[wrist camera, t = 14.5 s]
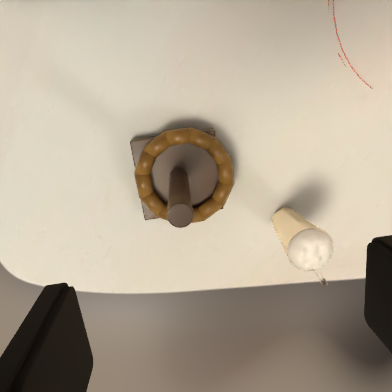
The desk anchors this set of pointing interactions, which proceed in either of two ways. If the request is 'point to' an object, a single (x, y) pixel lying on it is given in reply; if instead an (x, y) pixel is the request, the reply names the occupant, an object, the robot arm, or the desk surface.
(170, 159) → the peg stand
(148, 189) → the ring
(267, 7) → the desk surface
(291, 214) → the milkshake
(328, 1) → the figurine
